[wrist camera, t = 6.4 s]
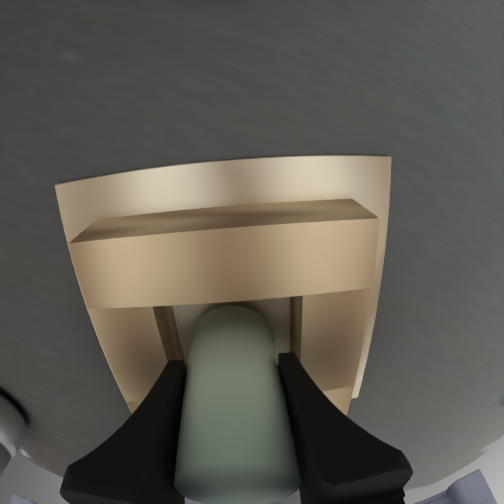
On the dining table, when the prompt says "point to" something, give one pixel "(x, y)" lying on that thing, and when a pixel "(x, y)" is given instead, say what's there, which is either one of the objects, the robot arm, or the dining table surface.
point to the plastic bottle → (10, 432)
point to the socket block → (233, 259)
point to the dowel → (234, 414)
